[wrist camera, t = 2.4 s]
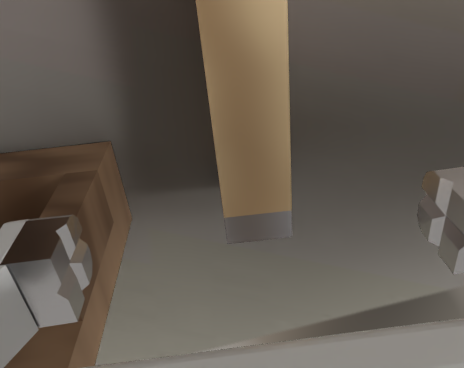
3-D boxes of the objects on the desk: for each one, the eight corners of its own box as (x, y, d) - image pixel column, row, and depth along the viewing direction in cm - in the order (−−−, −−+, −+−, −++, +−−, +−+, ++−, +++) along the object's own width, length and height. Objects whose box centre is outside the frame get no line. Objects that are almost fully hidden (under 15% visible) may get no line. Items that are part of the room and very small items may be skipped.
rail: (263, -99, 16) (285, -111, 12) (276, 180, 23) (292, 236, 19) (188, -91, 16) (182, -99, 12) (223, 186, 23) (227, 244, 19)
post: (-5, 233, 24) (-162, 459, 14) (-43, 158, 21) (-274, 368, 11) (132, 218, 24) (77, 433, 14) (110, 141, 21) (22, 337, 11)
